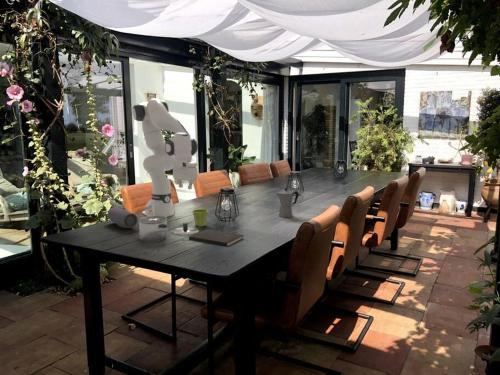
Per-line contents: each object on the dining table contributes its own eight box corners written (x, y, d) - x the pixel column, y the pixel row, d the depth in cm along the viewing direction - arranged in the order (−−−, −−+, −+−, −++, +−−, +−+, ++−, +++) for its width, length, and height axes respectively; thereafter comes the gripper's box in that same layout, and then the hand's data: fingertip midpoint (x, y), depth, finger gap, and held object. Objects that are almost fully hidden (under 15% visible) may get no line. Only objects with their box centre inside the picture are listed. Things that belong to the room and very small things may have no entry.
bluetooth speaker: (139, 228, 228) (138, 211, 226) (123, 231, 222) (122, 213, 220) (122, 221, 245) (121, 205, 243) (106, 223, 239) (105, 207, 237)
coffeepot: (278, 218, 253) (278, 189, 250) (273, 214, 262) (273, 187, 259) (301, 216, 257) (301, 188, 254) (295, 213, 266) (295, 186, 263)
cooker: (130, 236, 212) (129, 217, 210) (154, 231, 222) (153, 213, 221) (153, 244, 198) (152, 224, 196) (177, 238, 208) (176, 219, 207)
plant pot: (193, 228, 229) (193, 213, 228) (191, 223, 238) (191, 209, 237) (210, 226, 232) (209, 212, 230) (207, 222, 241) (207, 208, 239)
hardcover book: (207, 233, 221) (207, 229, 220) (243, 239, 210) (243, 234, 209) (188, 240, 207) (188, 236, 207) (227, 247, 196) (227, 242, 195)
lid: (166, 232, 222) (166, 223, 221) (188, 227, 233) (187, 219, 232) (182, 236, 212) (182, 228, 211) (204, 231, 223) (204, 223, 222)
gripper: (169, 162, 224) (170, 187, 226) (188, 164, 208) (190, 190, 210) (179, 161, 228) (180, 185, 230) (199, 163, 212) (200, 189, 214)
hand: (185, 188), depth 220 cm, fingers open, 8 cm apart
